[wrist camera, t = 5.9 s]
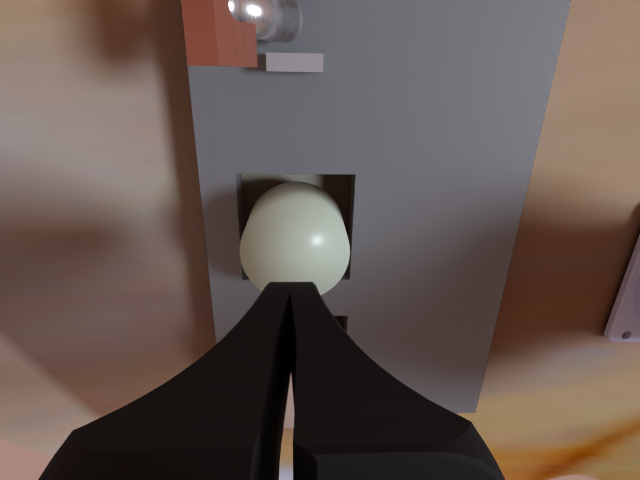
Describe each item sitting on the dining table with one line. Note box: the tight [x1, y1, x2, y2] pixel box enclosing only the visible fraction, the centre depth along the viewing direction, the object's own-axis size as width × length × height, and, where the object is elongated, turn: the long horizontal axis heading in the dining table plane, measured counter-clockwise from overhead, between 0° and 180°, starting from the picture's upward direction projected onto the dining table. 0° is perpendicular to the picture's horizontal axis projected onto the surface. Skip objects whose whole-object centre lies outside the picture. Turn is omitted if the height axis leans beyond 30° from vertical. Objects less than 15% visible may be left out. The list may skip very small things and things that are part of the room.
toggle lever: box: [181, 0, 304, 67], centre depth 12 cm, size 1×3×4 cm
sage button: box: [240, 182, 350, 295], centre depth 16 cm, size 4×4×3 cm
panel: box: [181, 0, 571, 413], centre depth 17 cm, size 14×24×2 cm, turn 179°
